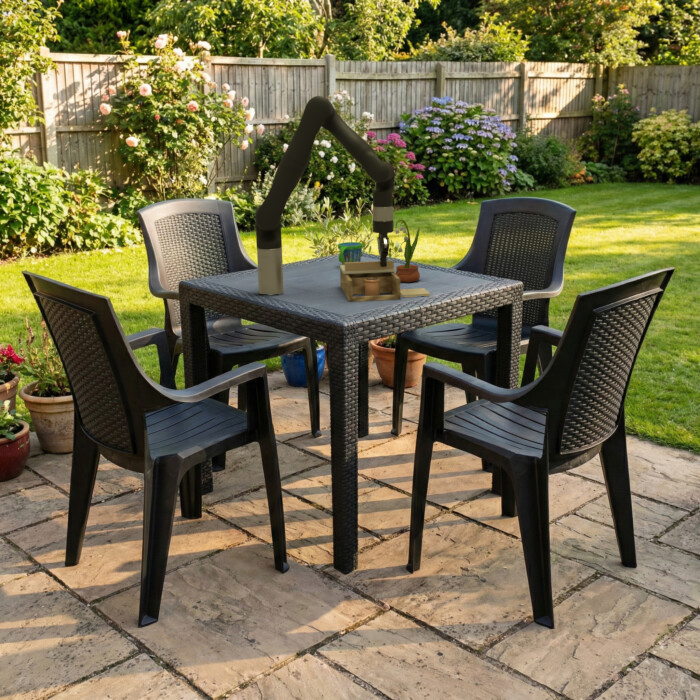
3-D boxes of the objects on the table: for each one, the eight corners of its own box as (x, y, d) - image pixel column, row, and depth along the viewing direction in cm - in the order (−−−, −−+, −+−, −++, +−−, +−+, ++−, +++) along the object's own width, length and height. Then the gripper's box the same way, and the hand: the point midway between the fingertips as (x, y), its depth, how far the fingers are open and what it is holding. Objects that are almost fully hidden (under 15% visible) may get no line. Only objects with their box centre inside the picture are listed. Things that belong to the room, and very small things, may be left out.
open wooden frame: (349, 301, 311) (348, 281, 309) (340, 286, 337) (340, 267, 335) (400, 299, 313) (400, 278, 311) (387, 284, 339) (387, 265, 337)
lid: (343, 274, 320) (343, 263, 319) (339, 267, 333) (339, 257, 332) (395, 271, 322) (395, 261, 321) (389, 265, 335) (389, 255, 334)
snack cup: (349, 271, 369) (348, 247, 366) (330, 269, 375) (329, 245, 373) (371, 265, 380) (371, 242, 378) (352, 263, 387) (352, 240, 384)
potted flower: (394, 284, 339) (394, 219, 332) (386, 279, 348) (385, 216, 342) (423, 282, 342) (423, 218, 336) (415, 277, 351) (414, 215, 345)
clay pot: (365, 298, 315) (365, 279, 313) (363, 295, 320) (362, 276, 319) (381, 298, 316) (381, 278, 314) (378, 294, 321) (378, 276, 319)
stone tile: (402, 297, 315) (402, 294, 315) (397, 292, 325) (397, 289, 325) (429, 296, 316) (429, 293, 316) (424, 290, 326) (424, 288, 326)
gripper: (370, 217, 321) (370, 264, 325) (375, 221, 308) (375, 270, 313) (390, 216, 321) (390, 263, 326) (396, 220, 309) (396, 269, 313)
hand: (383, 266), depth 319 cm, fingers closed
